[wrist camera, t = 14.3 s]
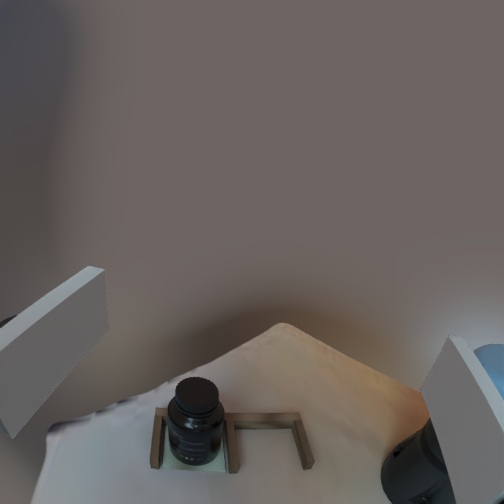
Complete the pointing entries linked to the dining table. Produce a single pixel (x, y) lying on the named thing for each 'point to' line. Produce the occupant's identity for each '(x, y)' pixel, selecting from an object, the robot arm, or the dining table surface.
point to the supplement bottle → (195, 422)
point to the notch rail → (231, 439)
